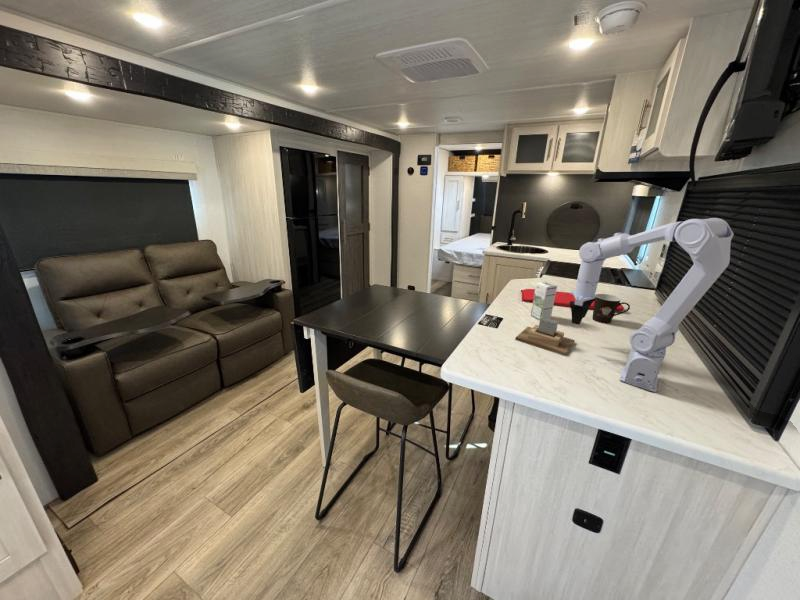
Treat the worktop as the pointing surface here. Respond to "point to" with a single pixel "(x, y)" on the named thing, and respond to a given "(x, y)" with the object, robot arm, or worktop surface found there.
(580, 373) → the worktop surface
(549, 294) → the syrup box
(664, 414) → the worktop surface
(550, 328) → the brushed grey block
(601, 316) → the coffee mug
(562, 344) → the slot block
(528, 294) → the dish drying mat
